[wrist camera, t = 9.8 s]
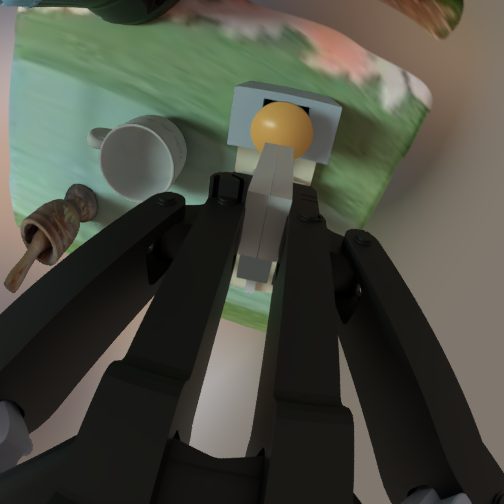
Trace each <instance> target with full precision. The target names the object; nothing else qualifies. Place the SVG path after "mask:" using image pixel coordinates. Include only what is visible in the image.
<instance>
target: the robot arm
mask: <svg viewBox="0 0 504 504" xmlns="http://www.w3.org/2000/svg"><path fill="white" fill-rule="evenodd" d="M178 1H179V0H0V4H1V5H4V6H20V7H24V8H32V7H78V8H88V9H89V10H90V11H92V12H93V13H95V14H96V15H97V16H98V17H100V18H101V19H103V20H105V21H107V22H110V23H114V24H123V25H135V24H141V23H144V22H148V21H150V20H153V19H155V18H157V17H159V16H160V15H162V14H164V13H165V12H167V11H168V10H169V9H171V8H172V7H173V6H174V5H175V4H176V3H177V2H178ZM278 149H279V152H278ZM277 154H278V157H277ZM293 159H294V148H292V147H287V146H282V145H280V147H279V145H277V144H272V143H267V142H265V145H264V148H263V150H262V153H261V156H260V158H259V161H258V164H257V166H256V169H255V172H254V174H253V175H250V174H244V173H239V172H233V173H231V172H219V173H215V174H213V175H212V176H210V186H209V197H208V199H207V201H206V203H205V204H202V205H185V198H184V197H183V196H182V195H180V194H178V193H173V192H162V193H157V194H155V195H153V196H151V197H149V198H148V199H146V200H145V201H143V202H142V203H140V204H139V205H137V206H136V207H134V208H133V209H131V210H130V211H128V212H127V213H125V214H124V215H123V216H121V217H120V218H118V219H117V220H115V221H114V222H113V223H111V224H110V225H108V226H107V227H106V228H104V229H103V230H101V231H100V232H99V233H97V234H96V235H95V236H93V237H92V238H91V239H89V240H88V241H87V242H85V243H84V244H83V245H81V246H80V247H79V248H77V249H76V250H75V251H73V252H72V253H71V254H70V255H68V256H67V257H66V258H65V259H63V260H62V261H61V262H60V263H58V264H57V265H56V266H55V267H54V268H52V269H51V270H50V271H49V272H47V273H46V274H45V275H44V276H43V277H41V278H40V279H39V280H38V281H37V282H36V283H34V284H33V285H32V286H31V287H30V288H29V289H27V290H26V291H25V292H24V293H23V294H22V295H21V296H20V297H19V298H18V299H17V300H15V301H14V302H13V303H12V304H11V305H10V306H9V307H8V308H7V309H6V310H5V311H3V312H2V313H1V314H0V504H362V503H361V502H360V500H359V499H358V498H357V497H356V495H355V494H354V493H353V487H354V422H353V415H352V413H351V411H350V409H349V408H347V407H345V406H343V405H342V403H341V397H340V370H339V369H340V367H339V348H338V337H339V339H340V342H341V345H342V348H343V351H344V354H345V357H346V360H347V363H348V366H349V370H350V372H351V375H352V379H353V382H354V385H355V388H356V392H357V395H358V398H359V402H360V405H361V408H362V411H363V415H364V418H365V421H366V425H367V428H368V432H369V435H370V439H371V443H372V446H373V450H374V454H375V458H376V461H377V465H378V469H379V473H380V476H381V479H382V482H383V485H384V488H385V490H386V493H387V495H388V497H389V499H390V501H391V503H392V504H504V473H503V471H502V470H501V468H500V467H499V465H498V464H497V462H496V461H495V459H494V458H493V456H492V455H491V453H490V452H489V451H488V449H487V448H486V446H485V445H484V443H483V442H482V439H481V437H480V434H479V431H478V428H477V426H476V423H475V421H474V418H473V415H472V413H471V410H470V408H469V406H468V403H467V401H466V398H465V396H464V394H463V391H462V389H461V387H460V385H459V383H458V380H457V378H456V377H455V374H454V372H453V370H452V368H451V365H450V363H449V361H448V359H447V357H446V355H445V353H444V351H443V349H442V347H441V346H440V343H439V341H438V340H437V338H436V336H435V334H434V332H433V330H432V328H431V327H430V325H429V323H428V321H427V319H426V317H425V316H424V314H423V312H422V310H421V309H420V307H419V305H418V303H417V302H416V300H415V298H414V297H413V295H412V293H411V292H410V290H409V288H408V287H407V285H406V283H405V282H404V280H403V278H402V277H401V275H400V274H399V272H398V270H397V269H396V267H395V266H394V264H393V263H392V261H391V260H390V258H389V256H388V255H387V254H386V252H385V251H384V249H383V247H382V246H381V244H380V243H379V241H378V240H377V239H376V238H375V237H374V236H372V235H371V234H370V233H368V232H365V231H364V230H358V229H350V230H348V231H347V232H346V234H345V236H341V235H339V234H336V233H334V232H332V231H330V230H329V229H327V227H326V221H325V219H324V217H323V216H322V215H321V214H319V208H318V200H317V193H316V191H315V190H314V189H313V188H312V187H311V186H307V185H302V184H298V183H293ZM276 160H277V162H276ZM275 165H276V167H275ZM274 170H275V172H274ZM273 175H274V177H273ZM272 180H273V182H272ZM271 185H272V187H271ZM270 190H271V192H270ZM269 195H270V197H269ZM268 200H269V202H268ZM267 205H268V207H267ZM266 210H267V212H266ZM265 215H266V217H265ZM264 220H265V222H264ZM263 224H264V227H263ZM262 229H263V232H262ZM261 234H262V237H261ZM260 239H261V242H260ZM259 244H260V248H259ZM149 247H150V248H149ZM258 249H259V253H258ZM237 252H238V254H239V255H244V256H249V257H254V258H257V253H258V259H263V260H268V261H273V262H277V264H276V268H275V272H274V275H273V279H272V283H271V285H273V289H272V297H271V304H270V312H269V319H268V326H267V333H266V341H265V348H264V355H263V361H262V368H261V376H260V382H259V388H258V396H257V401H256V408H255V414H254V420H253V426H252V432H251V437H250V441H249V444H248V447H247V451H246V456H245V457H242V458H223V459H222V458H215V457H212V456H209V455H208V454H205V453H203V452H201V451H199V450H197V449H195V448H193V447H191V446H189V442H190V437H191V430H192V424H193V420H194V415H195V412H196V408H197V404H198V400H199V396H200V393H201V389H202V385H203V381H204V377H205V374H206V370H207V366H208V362H209V358H210V355H211V351H212V347H213V344H214V340H215V336H216V333H217V329H218V325H219V321H220V318H221V314H222V311H223V307H224V303H225V300H226V296H227V292H228V289H229V285H230V281H231V278H232V274H233V271H234V267H235V263H236V258H237ZM277 258H278V260H277ZM360 288H361V292H360ZM154 295H155V296H154ZM153 296H154V298H153V300H152V302H151V304H150V306H149V308H148V310H147V312H146V314H145V316H144V318H143V321H142V323H141V324H140V327H139V329H138V331H137V333H136V335H135V337H134V339H133V341H132V343H131V345H130V348H129V350H128V352H127V354H126V356H125V357H124V358H123V359H122V360H118V361H113V362H112V363H111V364H110V365H109V366H108V368H107V369H106V371H105V373H104V374H103V376H102V379H101V381H100V383H99V385H98V388H97V390H96V392H95V394H94V397H93V399H92V401H91V403H90V406H89V408H88V410H87V413H86V415H85V417H84V420H83V422H82V425H81V427H80V429H79V432H78V434H77V435H76V436H74V437H72V438H70V439H68V440H66V441H64V442H62V443H61V444H59V445H57V446H55V447H53V448H51V449H49V450H47V451H45V452H43V453H41V454H39V455H38V456H35V457H33V458H31V459H29V460H27V461H25V462H23V463H21V464H19V465H17V462H18V460H19V459H20V458H21V457H22V456H27V455H29V454H30V453H31V451H32V447H33V444H32V441H31V439H30V438H29V434H30V433H31V432H33V431H34V430H36V429H37V428H38V427H39V426H41V425H42V424H43V423H44V422H45V421H46V420H47V419H49V418H50V416H51V415H52V414H53V413H54V412H55V411H56V410H57V409H58V408H59V406H60V405H61V404H62V403H63V401H64V400H65V399H66V398H67V396H68V395H69V394H70V393H71V391H72V390H73V389H74V388H75V387H76V385H77V384H78V383H79V382H80V381H81V379H82V378H83V377H84V376H85V374H86V373H87V372H88V371H89V370H90V368H91V367H92V366H93V365H94V364H95V362H96V361H97V360H98V358H100V356H101V355H102V354H103V353H104V352H105V351H106V350H107V348H108V347H109V346H110V345H111V344H112V343H113V341H114V340H115V339H116V338H117V337H118V336H119V335H120V333H121V332H122V331H123V330H124V329H125V328H126V327H127V325H128V324H129V323H130V322H131V321H132V320H133V319H134V317H135V316H136V315H137V314H138V313H139V312H140V311H141V310H142V309H143V307H144V306H145V305H146V304H147V303H148V302H149V301H150V299H152V297H153ZM16 465H17V466H16Z"/></svg>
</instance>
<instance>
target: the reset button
mask: <svg viewBox="0 0 504 504" xmlns="http://www.w3.org/2000/svg"><path fill="white" fill-rule="evenodd" d="M250 132H251V139H252V142H253V144H254V146H255V147H256V149H257V150H258V151H259V152H260V153H262V150H263V148H264V145H265V142H267V143H272V144H277V145H279V147H280V145H282V146H287V147H292V148H294V159H296V158H298V157H300V156H302V155H303V154H304V153H305V152H306V151H307V150H308V148H309V147H310V145H311V143H312V139H313V127H312V123H311V120H310V118H309V116H308V115H307V113H306V112H305V111H304V110H303V107H299V106H298V105H296V104H293V103H291V102H286V101H277V102H273V101H272V102H271V103H270V104H267V105H266V106H264V107H263V108H261V109H260V110H259V111H258V113H257V114H256V115H255V117H254V119H253V121H252V124H251V130H250ZM278 152H279V149H278ZM277 157H278V154H277ZM294 159H293V160H294ZM276 161H277V160H276Z"/></svg>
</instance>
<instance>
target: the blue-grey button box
mask: <svg viewBox="0 0 504 504" xmlns="http://www.w3.org/2000/svg"><path fill="white" fill-rule="evenodd" d="M265 99H270V100H275V101H286V102H291V103H293V104H296V105H300V106H304V107H309V108H310V110H309V114H308V116H309V118H310V120H311V123H312V127H313V139H312V143H311V145H310V147H309V148H308V150H307V151H306V152H305V153H304V154H303V155H302V156H300V157H298V158H301V159H305V160H310V161H314V162H318V163H322V164H326V165H328V161H329V157H330V154H331V150H332V146H333V142H334V138H335V135H336V131H337V127H338V123H339V119H340V115H341V111H342V107H341V106H340V105H339V104H338V103H337V102H335V101H334V100H333V99H332V98H331V97H328V96H324V95H320V94H316V93H312V92H308V91H303V90H299V89H294V88H289V87H284V86H279V85H273V84H268V83H262V82H255V81H248V82H245V83H242V84H239V85H236V86H235V91H234V98H233V105H232V112H231V119H230V126H229V133H228V141H227V144H228V145H234V146H240V147H246V148H252V149H256V147H255V146H254V144H253V142H252V139H251V132H250V130H251V124H252V121H253V119H254V117H255V115H256V114H257V113H258V111H259V110H260V109H261V108H263V107H264V102H265Z"/></svg>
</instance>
